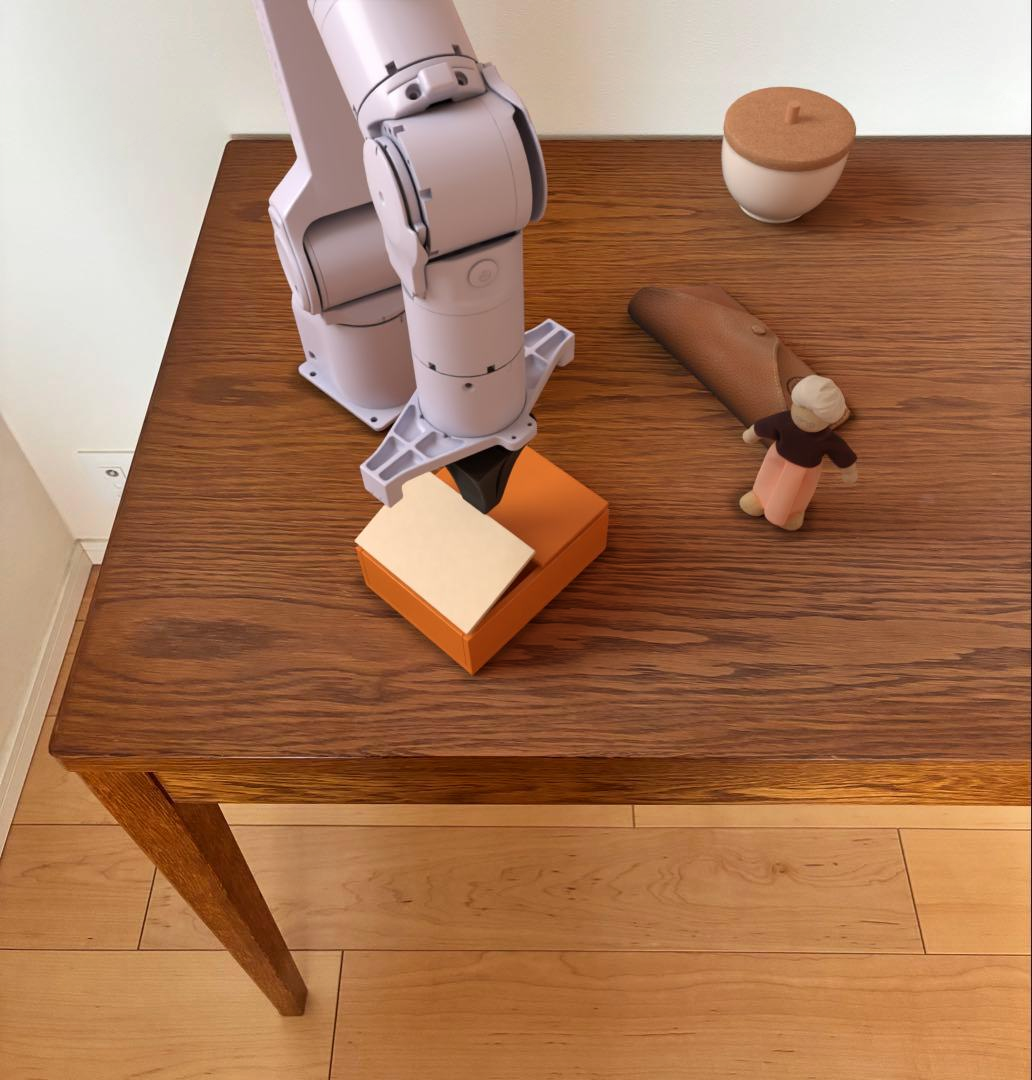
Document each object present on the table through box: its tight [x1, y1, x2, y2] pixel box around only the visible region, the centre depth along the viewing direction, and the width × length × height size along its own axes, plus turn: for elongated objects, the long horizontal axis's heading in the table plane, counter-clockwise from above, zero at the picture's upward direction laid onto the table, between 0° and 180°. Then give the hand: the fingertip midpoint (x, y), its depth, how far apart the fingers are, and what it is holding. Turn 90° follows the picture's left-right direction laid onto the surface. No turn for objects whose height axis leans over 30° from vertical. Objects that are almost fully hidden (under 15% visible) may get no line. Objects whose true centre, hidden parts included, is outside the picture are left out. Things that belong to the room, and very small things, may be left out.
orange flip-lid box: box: [355, 444, 610, 676], centre depth 64 cm, size 13×10×5 cm
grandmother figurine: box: [739, 374, 859, 531], centre depth 63 cm, size 8×4×13 cm, turn 70°
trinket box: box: [720, 86, 857, 224], centre depth 84 cm, size 11×11×9 cm
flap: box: [354, 471, 536, 635], centre depth 60 cm, size 6×10×1 cm, turn 47°
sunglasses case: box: [627, 281, 852, 451], centre depth 75 cm, size 18×7×7 cm
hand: (481, 499), depth 60 cm, fingers closed
